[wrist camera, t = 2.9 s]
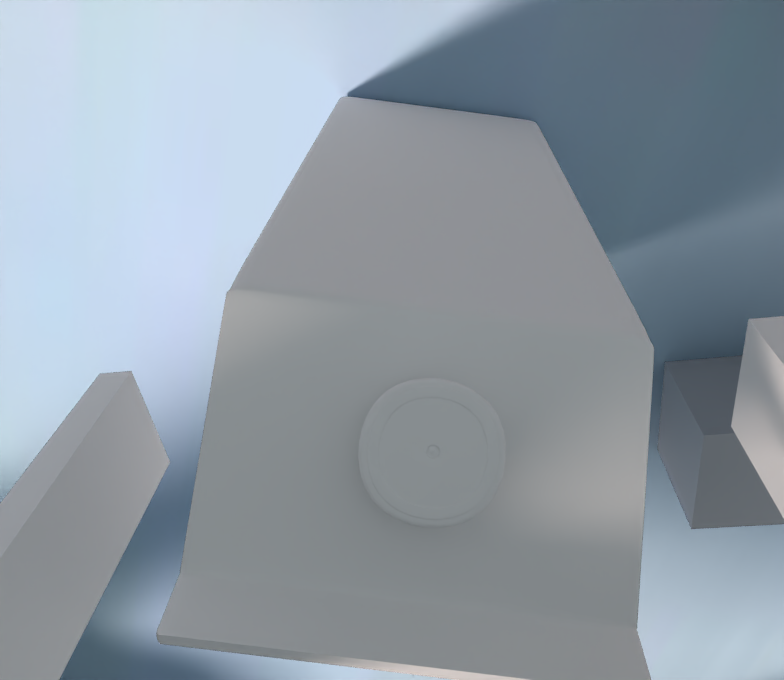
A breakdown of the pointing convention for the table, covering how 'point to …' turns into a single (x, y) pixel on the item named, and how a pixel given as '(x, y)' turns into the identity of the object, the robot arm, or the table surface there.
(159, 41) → the table surface
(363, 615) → the milk carton
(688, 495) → the slate grey block
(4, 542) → the robot arm
